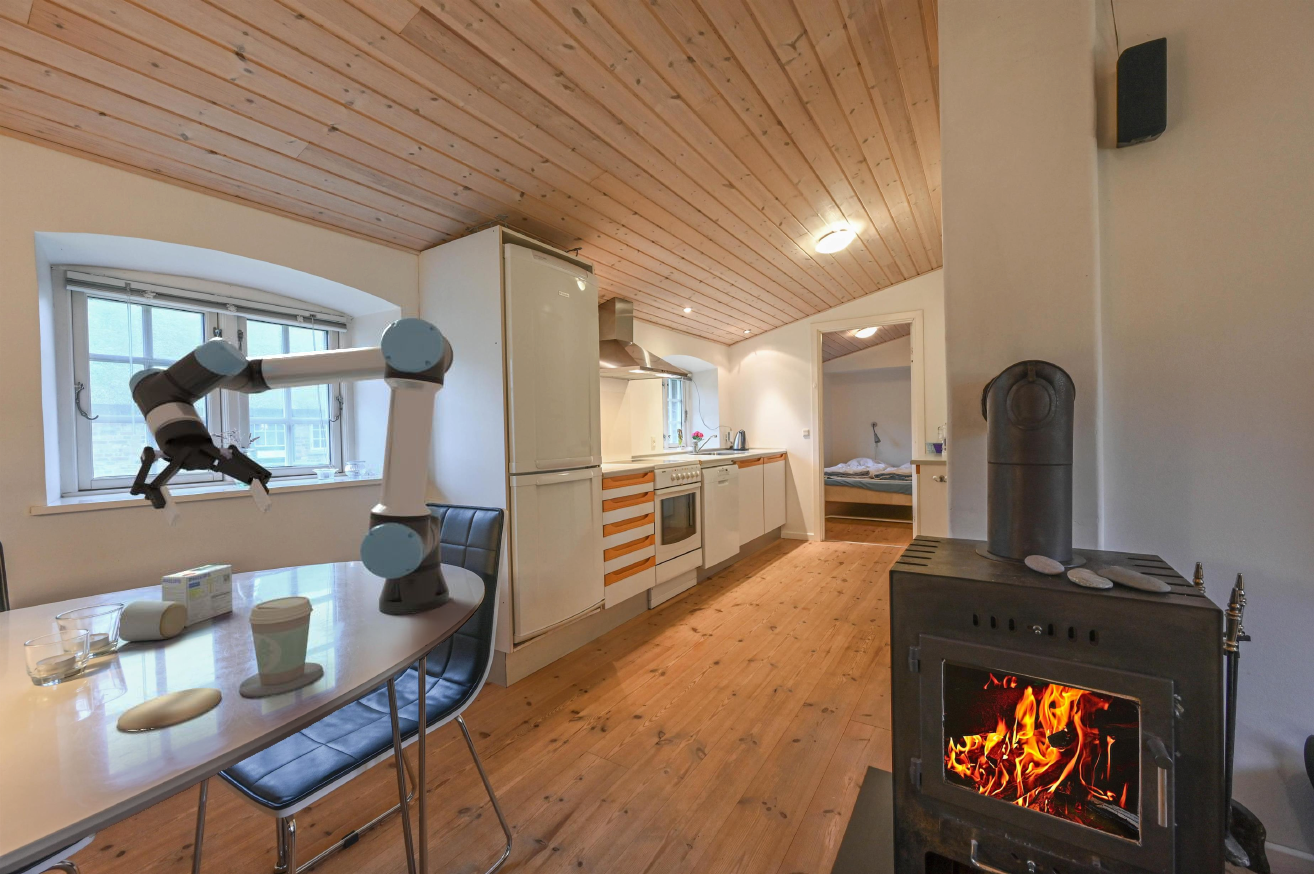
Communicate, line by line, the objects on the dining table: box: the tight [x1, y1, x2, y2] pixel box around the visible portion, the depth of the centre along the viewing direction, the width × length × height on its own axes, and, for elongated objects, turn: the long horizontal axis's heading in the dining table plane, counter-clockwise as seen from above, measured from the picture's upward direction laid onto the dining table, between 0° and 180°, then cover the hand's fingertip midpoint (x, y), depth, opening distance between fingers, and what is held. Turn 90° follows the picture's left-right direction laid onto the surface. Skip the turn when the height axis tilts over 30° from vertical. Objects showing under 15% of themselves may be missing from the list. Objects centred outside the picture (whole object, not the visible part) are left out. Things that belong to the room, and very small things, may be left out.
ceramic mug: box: [117, 600, 190, 642], centre depth 106 cm, size 11×8×8 cm
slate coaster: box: [238, 661, 324, 699], centre depth 84 cm, size 11×11×1 cm
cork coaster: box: [117, 687, 222, 731], centre depth 75 cm, size 11×11×1 cm
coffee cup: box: [247, 595, 314, 685], centre depth 84 cm, size 8×8×12 cm
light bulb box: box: [160, 564, 233, 627], centre depth 116 cm, size 11×7×11 cm, turn 173°
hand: (224, 514), depth 91 cm, fingers open, 13 cm apart
